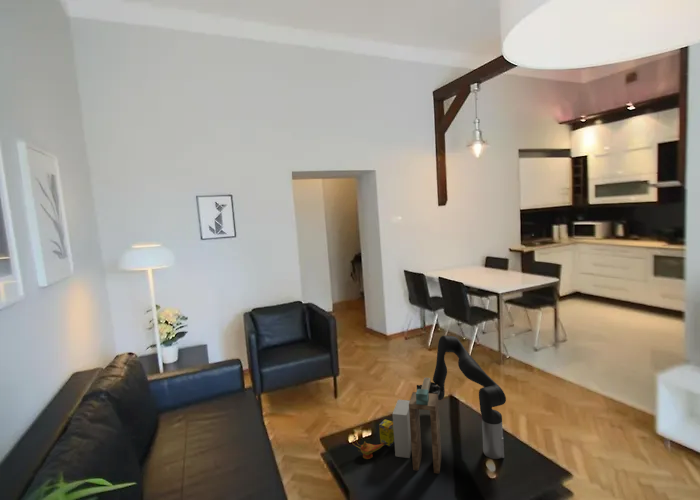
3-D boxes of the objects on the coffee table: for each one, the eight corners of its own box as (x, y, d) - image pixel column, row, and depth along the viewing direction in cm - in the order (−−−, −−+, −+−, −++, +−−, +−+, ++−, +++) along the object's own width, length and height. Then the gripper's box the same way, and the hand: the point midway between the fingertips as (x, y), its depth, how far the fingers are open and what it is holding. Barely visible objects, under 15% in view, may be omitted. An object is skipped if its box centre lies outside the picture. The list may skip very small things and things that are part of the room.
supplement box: (389, 447, 192) (388, 427, 191) (380, 444, 196) (378, 424, 195) (395, 441, 197) (394, 421, 196) (386, 438, 200) (384, 418, 199)
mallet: (432, 383, 190) (432, 374, 189) (427, 405, 169) (426, 394, 169) (422, 383, 191) (422, 373, 191) (416, 404, 171) (415, 393, 170)
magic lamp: (388, 460, 182) (387, 438, 181) (352, 460, 185) (350, 438, 184) (389, 451, 189) (387, 430, 188) (353, 451, 191) (352, 430, 190)
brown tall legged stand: (441, 457, 182) (437, 393, 179) (439, 473, 170) (435, 406, 168) (416, 453, 185) (412, 392, 183) (413, 469, 174) (408, 404, 171)
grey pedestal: (414, 440, 196) (411, 400, 194) (409, 458, 183) (406, 415, 181) (400, 439, 199) (398, 399, 197) (395, 456, 185) (392, 413, 183)
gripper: (419, 382, 212) (415, 379, 198) (445, 383, 208) (442, 380, 194) (419, 396, 209) (415, 394, 195) (445, 398, 205) (443, 396, 191)
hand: (428, 387), depth 194 cm, fingers open, 8 cm apart
